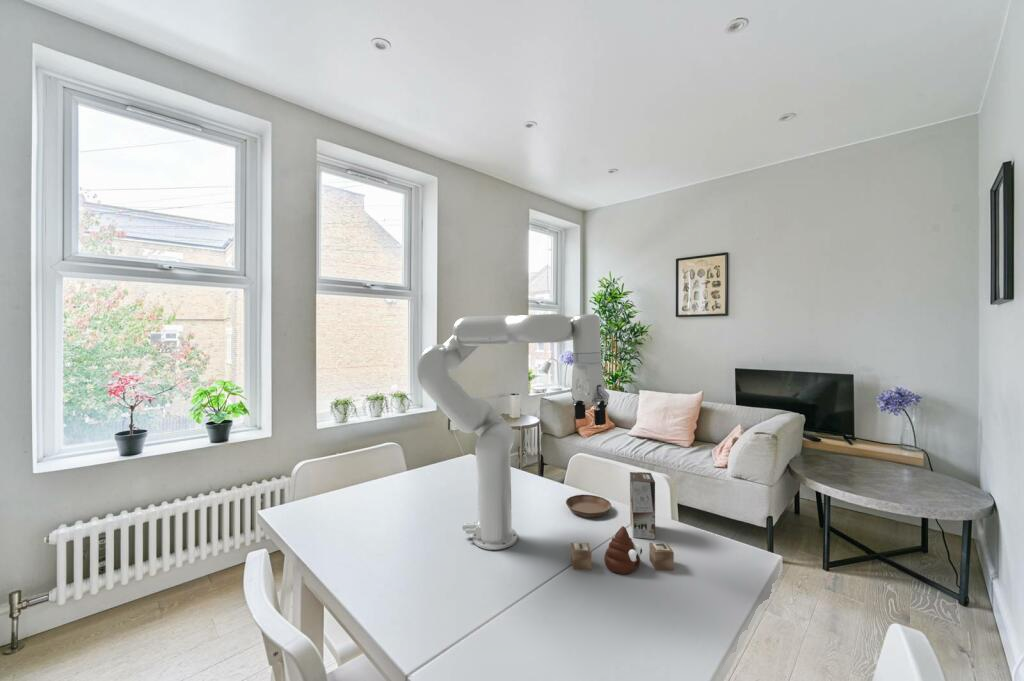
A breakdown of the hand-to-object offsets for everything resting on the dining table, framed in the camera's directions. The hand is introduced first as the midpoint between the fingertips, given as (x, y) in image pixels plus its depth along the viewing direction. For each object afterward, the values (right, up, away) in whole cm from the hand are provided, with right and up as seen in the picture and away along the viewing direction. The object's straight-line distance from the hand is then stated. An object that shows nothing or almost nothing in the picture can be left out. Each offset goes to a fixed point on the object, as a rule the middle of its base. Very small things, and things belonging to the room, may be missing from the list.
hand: (589, 421), depth 113 cm
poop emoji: (+6, -34, -10) cm, 36 cm away
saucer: (+4, -34, +23) cm, 42 cm away
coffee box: (+17, -34, +8) cm, 39 cm away
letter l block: (+16, -34, -10) cm, 39 cm away
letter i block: (-4, -34, -10) cm, 36 cm away
